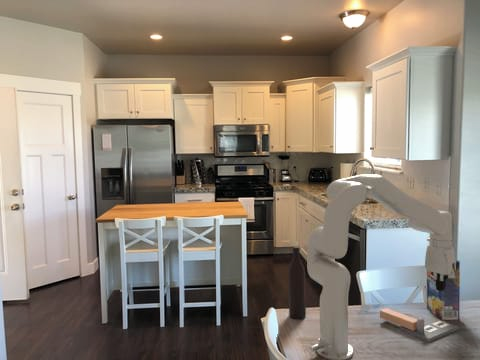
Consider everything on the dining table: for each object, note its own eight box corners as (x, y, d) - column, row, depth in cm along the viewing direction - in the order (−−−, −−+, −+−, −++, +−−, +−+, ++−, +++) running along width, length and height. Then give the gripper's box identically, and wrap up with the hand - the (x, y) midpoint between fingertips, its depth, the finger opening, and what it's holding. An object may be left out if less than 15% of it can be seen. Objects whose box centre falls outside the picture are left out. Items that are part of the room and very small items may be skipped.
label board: (428, 341, 135) (428, 324, 134) (400, 329, 145) (399, 313, 145) (458, 329, 143) (458, 313, 143) (429, 318, 154) (429, 303, 153)
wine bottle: (306, 313, 162) (305, 245, 161) (305, 320, 155) (303, 249, 154) (290, 312, 164) (288, 245, 162) (288, 319, 157) (286, 248, 155)
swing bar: (419, 327, 142) (419, 320, 142) (413, 330, 140) (413, 322, 140) (386, 315, 154) (385, 307, 154) (379, 317, 152) (379, 310, 152)
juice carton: (459, 319, 152) (459, 261, 151) (441, 319, 152) (441, 262, 151) (443, 307, 164) (443, 254, 163) (426, 308, 164) (426, 254, 163)
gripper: (416, 241, 148) (416, 286, 149) (453, 248, 135) (453, 297, 136) (428, 238, 152) (428, 282, 153) (465, 245, 139) (465, 293, 140)
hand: (440, 289), depth 144 cm, fingers closed
